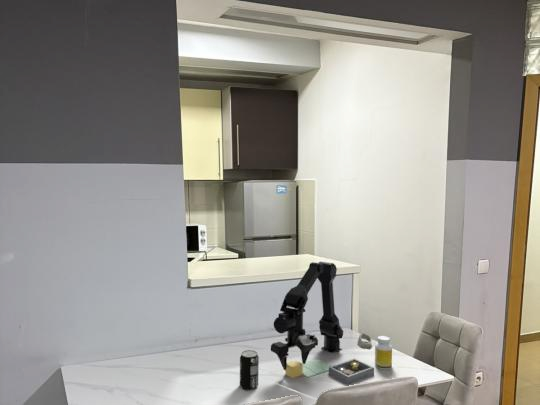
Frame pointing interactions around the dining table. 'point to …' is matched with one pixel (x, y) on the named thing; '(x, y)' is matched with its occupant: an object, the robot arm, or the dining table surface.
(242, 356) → the beverage can
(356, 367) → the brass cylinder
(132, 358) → the dining table surface
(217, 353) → the dining table surface
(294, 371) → the grooved mint slab
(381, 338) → the pill bottle
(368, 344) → the wristwatch
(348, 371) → the walnut block
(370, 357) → the dining table surface
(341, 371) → the chrome dome knob
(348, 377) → the tub
